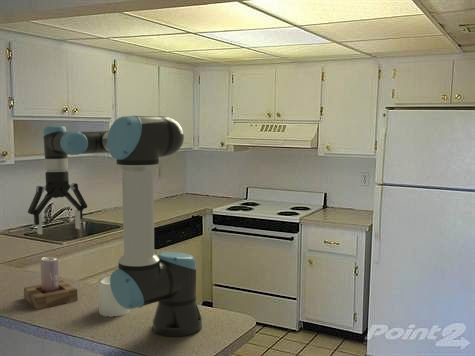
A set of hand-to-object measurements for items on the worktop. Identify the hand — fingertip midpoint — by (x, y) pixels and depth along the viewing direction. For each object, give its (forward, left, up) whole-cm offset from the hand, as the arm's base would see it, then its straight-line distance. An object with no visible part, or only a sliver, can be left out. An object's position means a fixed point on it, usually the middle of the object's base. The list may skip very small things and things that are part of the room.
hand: (59, 231), depth 180 cm
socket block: (+4, +3, -25) cm, 25 cm away
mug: (-20, -10, -25) cm, 34 cm away
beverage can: (+4, +3, -25) cm, 26 cm away
